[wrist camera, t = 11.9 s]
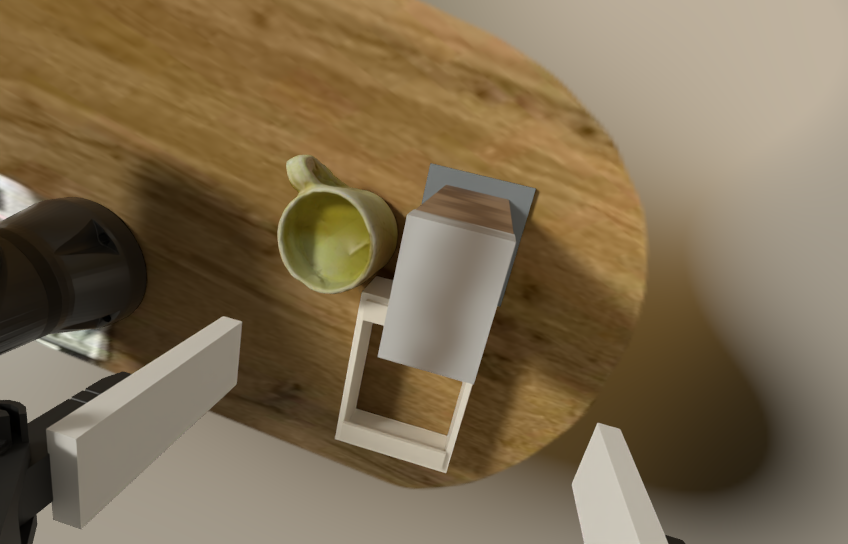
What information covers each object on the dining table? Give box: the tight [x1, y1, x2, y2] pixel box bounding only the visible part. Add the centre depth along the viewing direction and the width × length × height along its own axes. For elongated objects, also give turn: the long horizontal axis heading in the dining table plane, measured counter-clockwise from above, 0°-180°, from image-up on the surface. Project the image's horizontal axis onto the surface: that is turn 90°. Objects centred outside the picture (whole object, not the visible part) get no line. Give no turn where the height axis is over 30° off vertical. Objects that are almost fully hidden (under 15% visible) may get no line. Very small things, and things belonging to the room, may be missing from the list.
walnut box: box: [378, 185, 516, 385], centre depth 33 cm, size 6×9×18 cm
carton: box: [335, 276, 472, 473], centre depth 45 cm, size 12×17×5 cm
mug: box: [277, 155, 398, 294], centre depth 40 cm, size 12×10×10 cm
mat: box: [422, 164, 536, 306], centre depth 42 cm, size 10×12×1 cm
